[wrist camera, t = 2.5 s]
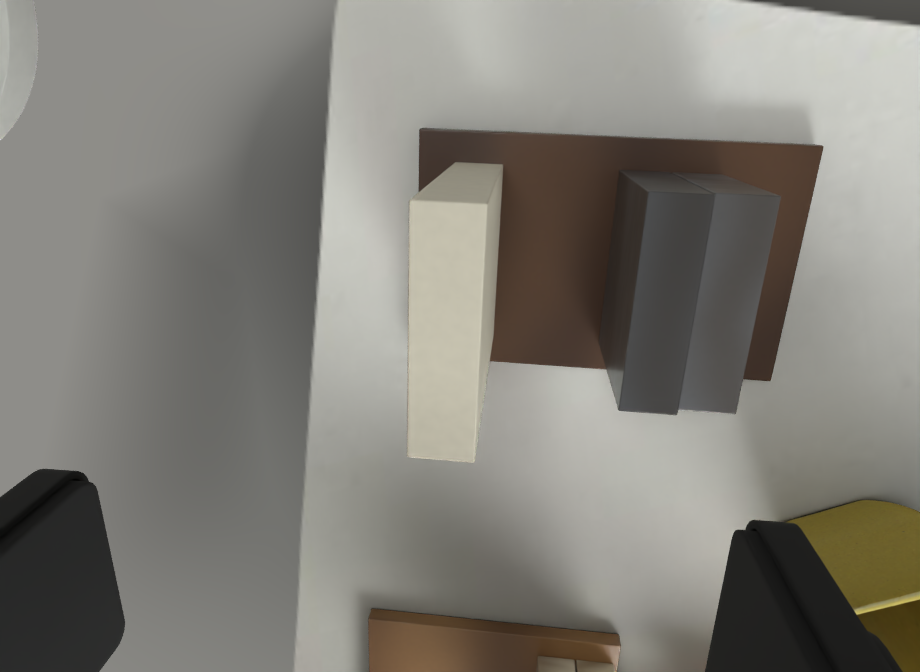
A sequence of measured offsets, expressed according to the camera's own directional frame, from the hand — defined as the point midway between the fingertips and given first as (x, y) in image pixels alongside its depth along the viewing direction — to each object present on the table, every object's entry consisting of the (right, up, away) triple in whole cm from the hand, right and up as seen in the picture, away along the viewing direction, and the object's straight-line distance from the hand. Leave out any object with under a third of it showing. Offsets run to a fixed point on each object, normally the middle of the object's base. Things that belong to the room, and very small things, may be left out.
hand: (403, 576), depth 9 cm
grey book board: (+8, +8, +24) cm, 26 cm away
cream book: (+2, +8, +24) cm, 25 cm away
